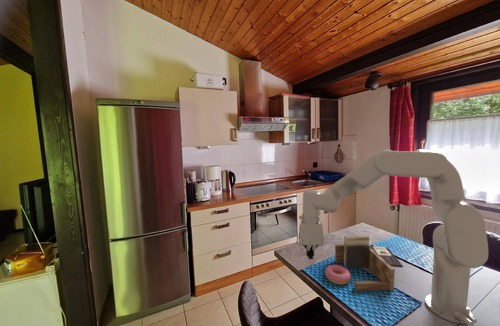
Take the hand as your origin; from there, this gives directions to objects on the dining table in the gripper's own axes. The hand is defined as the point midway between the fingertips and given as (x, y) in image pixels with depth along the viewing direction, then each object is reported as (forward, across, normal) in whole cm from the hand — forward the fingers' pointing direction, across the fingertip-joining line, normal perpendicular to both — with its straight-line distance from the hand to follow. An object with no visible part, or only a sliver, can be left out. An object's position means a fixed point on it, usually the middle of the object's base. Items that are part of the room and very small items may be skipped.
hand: (310, 257), depth 96 cm
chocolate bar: (+10, +45, +16) cm, 49 cm away
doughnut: (+10, +13, 0) cm, 16 cm away
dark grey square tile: (+10, +25, +7) cm, 28 cm away
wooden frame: (+10, +25, +2) cm, 27 cm away
